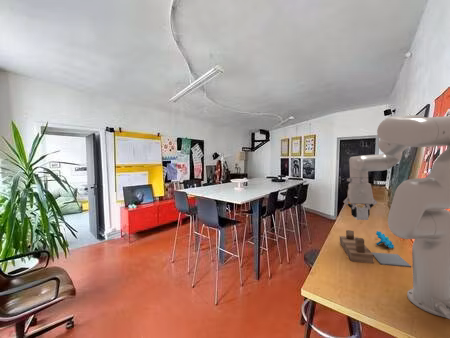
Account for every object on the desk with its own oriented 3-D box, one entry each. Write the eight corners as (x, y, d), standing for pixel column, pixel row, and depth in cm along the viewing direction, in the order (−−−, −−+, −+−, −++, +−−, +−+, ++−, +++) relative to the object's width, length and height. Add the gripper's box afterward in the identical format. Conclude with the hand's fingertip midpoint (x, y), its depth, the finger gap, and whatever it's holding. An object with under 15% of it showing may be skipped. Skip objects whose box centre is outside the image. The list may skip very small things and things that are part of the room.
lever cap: (368, 220, 96) (367, 206, 96) (357, 219, 98) (356, 206, 98) (363, 216, 102) (363, 203, 102) (353, 216, 104) (352, 203, 103)
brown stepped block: (373, 263, 91) (372, 241, 91) (351, 261, 94) (350, 240, 93) (357, 243, 112) (357, 226, 112) (339, 242, 115) (339, 225, 114)
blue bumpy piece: (391, 248, 100) (375, 231, 106) (381, 254, 103) (366, 237, 110) (398, 245, 107) (382, 229, 113) (388, 251, 110) (373, 234, 116)
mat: (410, 267, 86) (410, 265, 86) (380, 264, 90) (380, 263, 90) (397, 255, 97) (397, 254, 97) (371, 253, 100) (371, 252, 100)
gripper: (341, 181, 99) (343, 218, 99) (382, 181, 94) (384, 219, 94) (338, 180, 106) (339, 214, 106) (375, 179, 101) (377, 215, 101)
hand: (360, 216), depth 100 cm, fingers closed on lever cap, 4 cm apart
